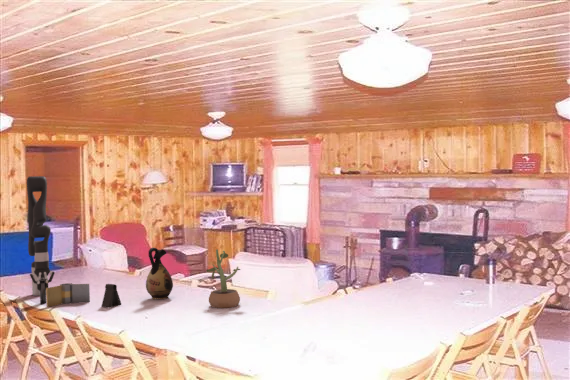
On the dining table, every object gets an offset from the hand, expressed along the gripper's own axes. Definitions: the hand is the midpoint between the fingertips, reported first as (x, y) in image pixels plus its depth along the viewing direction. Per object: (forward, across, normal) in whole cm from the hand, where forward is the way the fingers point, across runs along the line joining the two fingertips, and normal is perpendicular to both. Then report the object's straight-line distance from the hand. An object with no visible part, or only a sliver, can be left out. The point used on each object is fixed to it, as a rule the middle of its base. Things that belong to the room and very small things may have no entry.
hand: (42, 289), depth 358 cm
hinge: (+8, -12, +8) cm, 16 cm away
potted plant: (+8, -85, +63) cm, 106 cm away
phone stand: (+8, -32, +30) cm, 45 cm away
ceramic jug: (+8, -60, +26) cm, 66 cm away
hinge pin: (+8, 0, 0) cm, 8 cm away
